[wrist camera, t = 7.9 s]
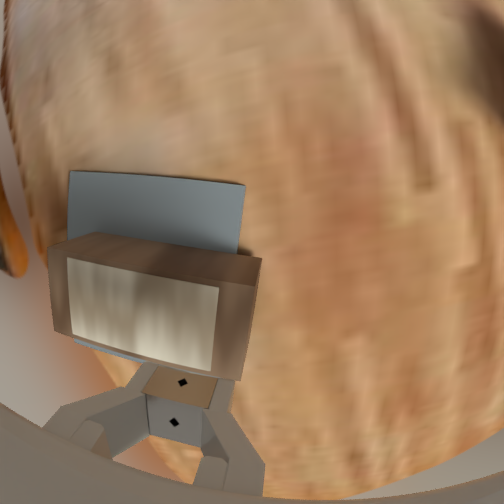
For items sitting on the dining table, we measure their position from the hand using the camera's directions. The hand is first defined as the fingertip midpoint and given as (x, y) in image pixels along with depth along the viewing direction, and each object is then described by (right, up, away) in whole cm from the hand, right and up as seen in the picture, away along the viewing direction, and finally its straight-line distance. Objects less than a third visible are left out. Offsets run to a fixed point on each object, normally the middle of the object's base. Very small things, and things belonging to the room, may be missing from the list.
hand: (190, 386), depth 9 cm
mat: (-5, +3, +10) cm, 12 cm away
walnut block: (+2, +1, +7) cm, 7 cm away
